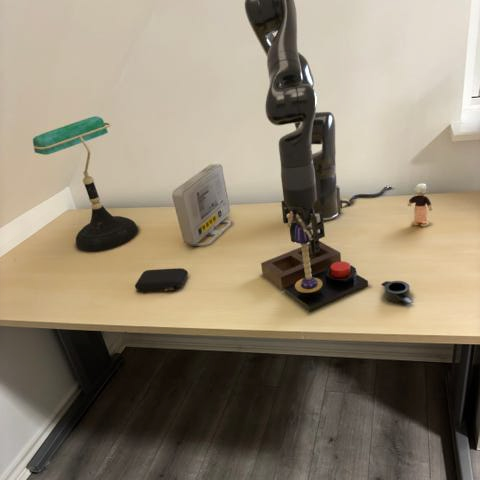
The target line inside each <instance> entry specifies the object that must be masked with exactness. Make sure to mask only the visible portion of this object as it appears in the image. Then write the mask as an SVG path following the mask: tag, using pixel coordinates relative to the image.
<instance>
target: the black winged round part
mask: <svg viewBox="0 0 480 480" xmlns="http://www.w3.org/2000/svg"><path fill="white" fill-rule="evenodd" d="M380 285H381V286H382V287H384V300H385V301H387V303H391V304H404V303H406V304H412V303H415V301H413V300H412V299H411V298H410V292H411V291H410V288H411V287H410V284H409V283H407V282H406V281H402V280H393V281H392V280H391V281H388V280H387V281H384V282H382V283H381V284H380Z"/></svg>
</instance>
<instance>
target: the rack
mask: <svg viewBox="0 0 480 480" xmlns="http://www.w3.org/2000/svg"><path fill="white" fill-rule="evenodd" d="M307 246H308V252H309V258H310V264H311V267H310V268H311V274H312V276H313V275H315V274H318V273H320V272H322V271H325V270H327V269H328V268H329V267H331V265H332V264H333V263H335V262H341V261H342V256H341V255H342V254H341V252H340V251H339V250H336V249H335V248H333V247H331V246H330V245H327V244H326V243H324V242H322V241H320V240H319V246H320V250H319V252H317V253H315V254H312V253H310V244H309V243H308V245H307ZM301 247H302V246H300V247H298V248H294V249H292V250H290V251H287V252H285V253H282V254H280V255H278V256H275V257H273V258H270V259H268V260H265V261H262V262H260V266H261V271H262V273H261V274H262V276H263V277H265V279H267V280H268V281H270V282H271V283H272V284H273V285H275V286H276V287H278V288H279V289H280V290H281V291H284V288H285V287H287V286H290V285H292V284H294V283H296V282H297V281H299V280H301V279H303V278H306V277H305V271H304V269H305V268H304V262H303V256H302V250H301Z"/></svg>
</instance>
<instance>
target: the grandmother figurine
mask: <svg viewBox="0 0 480 480" xmlns="http://www.w3.org/2000/svg"><path fill="white" fill-rule="evenodd" d="M427 189H428V187H427V185H426V183H419V184H417V185H416V186H415V188H414V193H415V194H416V195H414V196H412V197H411V198H409V199H408V203H407V207H411V206H412V204H414V209H413V210H414V211H413V217H414V218H413V220H414V222H413V226H419V225H420V227H423V228H424V227H427V226H430V222H429V221H428V217H427V214H428V212H427V211H429V212H430V211H431V212H432V211H433V206H432V202H431V201H430V199H429V197H428V196H426V193H427ZM427 208H428V209H427Z"/></svg>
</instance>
